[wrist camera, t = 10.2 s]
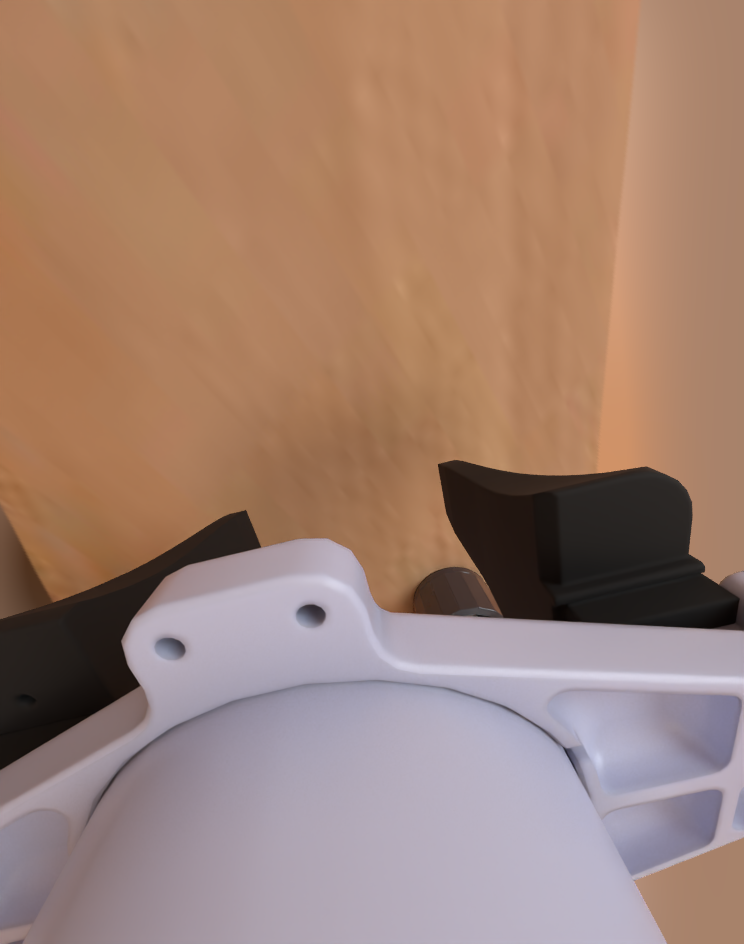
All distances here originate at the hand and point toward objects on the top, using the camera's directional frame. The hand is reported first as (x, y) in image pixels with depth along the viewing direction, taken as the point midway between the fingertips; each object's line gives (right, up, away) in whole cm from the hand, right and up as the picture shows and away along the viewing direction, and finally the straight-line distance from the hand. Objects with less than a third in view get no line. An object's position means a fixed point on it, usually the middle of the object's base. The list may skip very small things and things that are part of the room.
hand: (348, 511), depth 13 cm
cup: (+7, -8, +15) cm, 18 cm away
